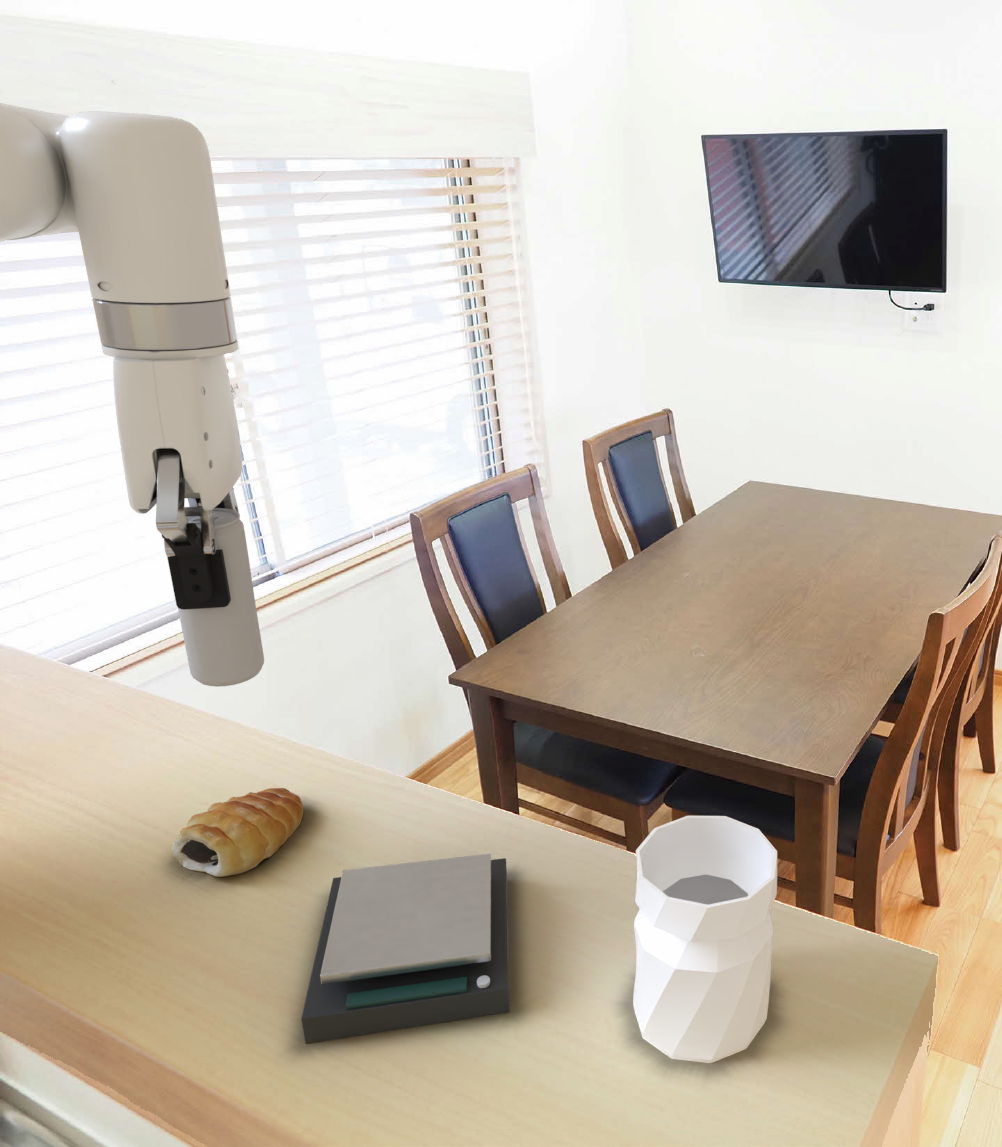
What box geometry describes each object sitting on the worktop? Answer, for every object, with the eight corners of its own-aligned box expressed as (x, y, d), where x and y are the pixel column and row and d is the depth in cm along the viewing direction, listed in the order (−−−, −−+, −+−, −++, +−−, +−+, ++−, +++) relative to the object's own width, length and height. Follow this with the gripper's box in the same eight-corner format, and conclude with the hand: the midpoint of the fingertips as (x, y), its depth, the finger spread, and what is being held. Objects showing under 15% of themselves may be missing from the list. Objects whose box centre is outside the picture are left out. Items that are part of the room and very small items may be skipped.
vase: (723, 1089, 58) (731, 929, 53) (605, 1026, 61) (604, 872, 57) (791, 993, 65) (804, 844, 60) (682, 942, 69) (686, 799, 64)
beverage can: (175, 683, 69) (144, 524, 65) (224, 655, 74) (198, 504, 69) (234, 693, 68) (206, 533, 64) (280, 663, 73) (257, 511, 68)
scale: (305, 1046, 59) (300, 1015, 58) (336, 902, 70) (332, 874, 69) (509, 1014, 62) (508, 984, 61) (507, 881, 73) (505, 854, 72)
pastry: (262, 799, 81) (256, 760, 80) (328, 819, 79) (323, 779, 78) (165, 866, 73) (156, 824, 71) (236, 890, 71) (228, 848, 70)
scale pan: (321, 985, 59) (319, 975, 59) (343, 879, 68) (342, 869, 68) (491, 962, 62) (490, 951, 61) (491, 862, 71) (490, 853, 70)
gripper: (142, 309, 68) (186, 551, 75) (48, 348, 53) (114, 647, 60) (259, 311, 70) (292, 546, 77) (201, 349, 55) (248, 638, 62)
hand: (214, 588), depth 68 cm, fingers closed on beverage can, 4 cm apart
